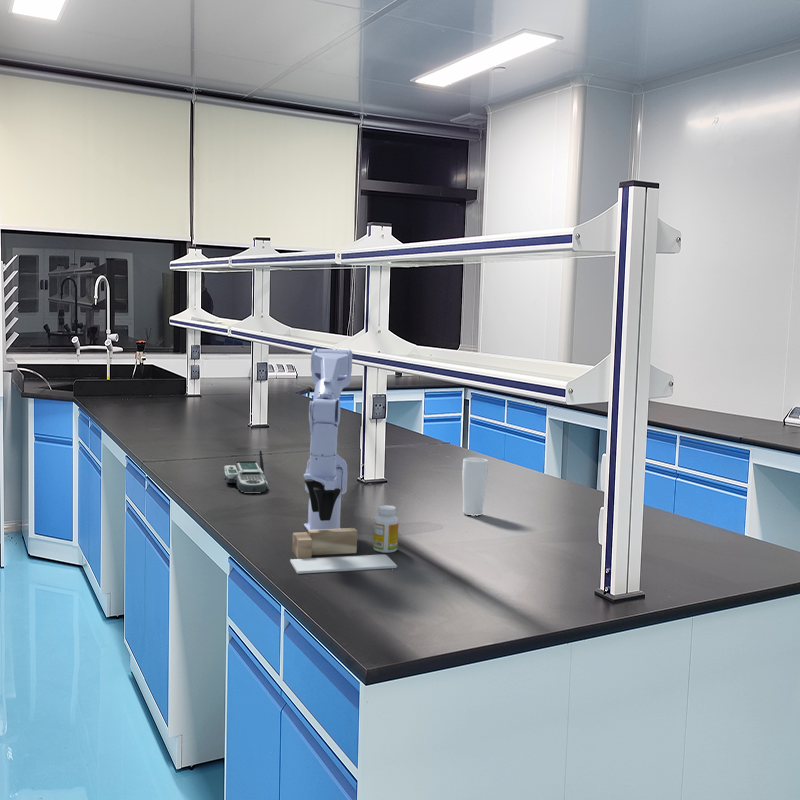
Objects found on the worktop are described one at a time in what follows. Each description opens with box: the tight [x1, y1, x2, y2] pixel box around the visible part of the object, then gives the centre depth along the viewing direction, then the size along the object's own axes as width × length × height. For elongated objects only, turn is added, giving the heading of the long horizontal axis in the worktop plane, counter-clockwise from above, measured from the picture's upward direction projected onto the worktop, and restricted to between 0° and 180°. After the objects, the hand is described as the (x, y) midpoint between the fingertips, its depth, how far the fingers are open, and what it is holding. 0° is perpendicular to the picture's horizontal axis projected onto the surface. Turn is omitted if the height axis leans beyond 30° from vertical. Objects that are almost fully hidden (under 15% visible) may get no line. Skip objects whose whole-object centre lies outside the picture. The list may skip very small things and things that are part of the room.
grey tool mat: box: [289, 554, 398, 575], centre depth 169 cm, size 8×21×1 cm, turn 108°
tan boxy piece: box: [291, 527, 358, 559], centre depth 177 cm, size 6×14×5 cm, turn 108°
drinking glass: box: [461, 456, 489, 515], centre depth 217 cm, size 7×7×15 cm
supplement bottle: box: [372, 505, 399, 554], centre depth 181 cm, size 5×5×10 cm
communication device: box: [223, 450, 269, 493], centre depth 241 cm, size 12×24×9 cm, turn 18°
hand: (321, 515), depth 176 cm, fingers open, 7 cm apart
